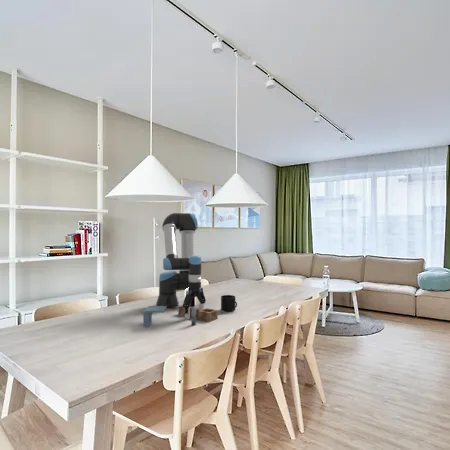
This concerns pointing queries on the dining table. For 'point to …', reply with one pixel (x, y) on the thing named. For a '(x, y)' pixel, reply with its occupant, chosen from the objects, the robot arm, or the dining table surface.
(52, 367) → the dining table surface
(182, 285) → the robot arm
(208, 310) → the link
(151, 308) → the keeper
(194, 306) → the pintle
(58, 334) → the dining table surface
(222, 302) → the mug
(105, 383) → the dining table surface
